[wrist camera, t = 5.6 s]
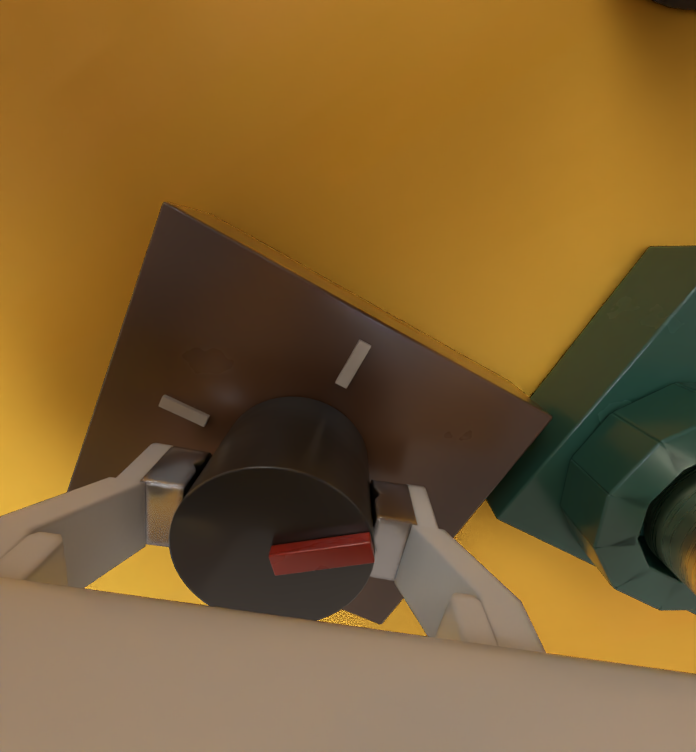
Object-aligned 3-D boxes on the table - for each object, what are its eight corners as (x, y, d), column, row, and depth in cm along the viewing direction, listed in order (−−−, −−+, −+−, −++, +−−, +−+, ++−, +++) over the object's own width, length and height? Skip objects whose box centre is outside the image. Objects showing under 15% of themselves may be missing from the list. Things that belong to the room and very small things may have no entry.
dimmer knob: (246, 527, 12) (200, 650, 8) (205, 409, 10) (126, 494, 7) (377, 508, 11) (390, 628, 8) (354, 384, 10) (356, 459, 6)
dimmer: (120, 450, 14) (59, 503, 11) (209, 212, 11) (158, 198, 8) (376, 560, 16) (381, 630, 13) (510, 381, 13) (557, 420, 10)
